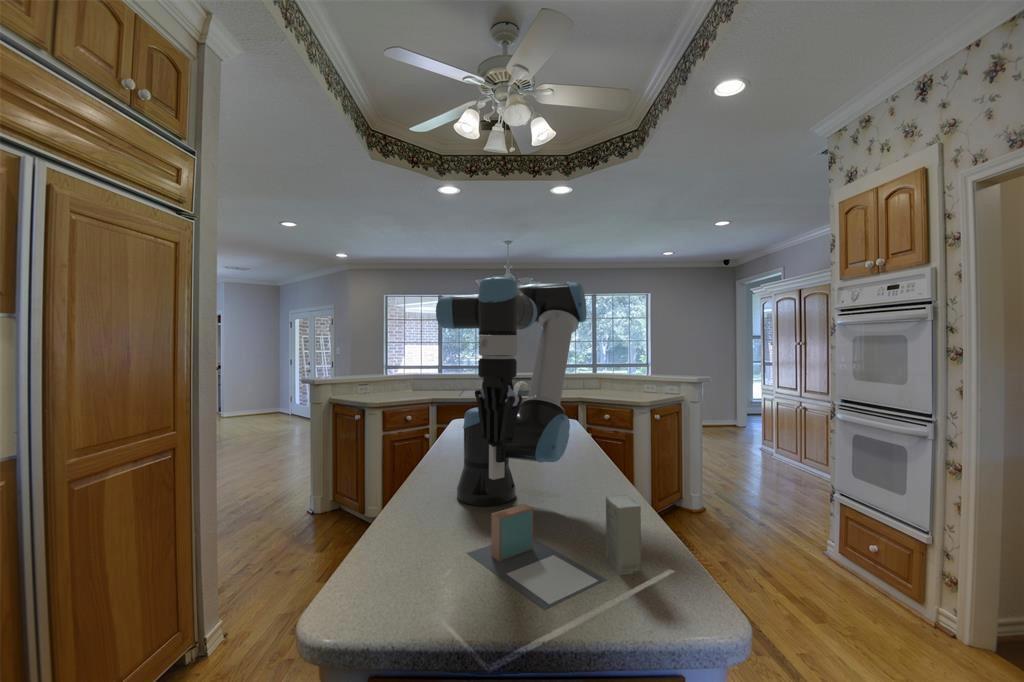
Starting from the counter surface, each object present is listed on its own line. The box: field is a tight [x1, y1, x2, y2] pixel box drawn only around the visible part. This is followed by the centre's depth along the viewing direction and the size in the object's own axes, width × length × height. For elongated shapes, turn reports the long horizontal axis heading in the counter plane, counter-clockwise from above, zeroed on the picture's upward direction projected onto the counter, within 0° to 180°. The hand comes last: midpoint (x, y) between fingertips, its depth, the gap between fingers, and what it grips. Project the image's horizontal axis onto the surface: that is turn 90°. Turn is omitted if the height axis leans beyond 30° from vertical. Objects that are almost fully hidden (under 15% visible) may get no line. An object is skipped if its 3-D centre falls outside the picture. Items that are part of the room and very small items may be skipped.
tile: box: [490, 503, 534, 561], centre depth 85 cm, size 3×8×8 cm, turn 127°
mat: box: [466, 538, 608, 611], centre depth 81 cm, size 22×14×1 cm, turn 37°
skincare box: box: [605, 494, 643, 576], centre depth 81 cm, size 6×4×12 cm
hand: (496, 477), depth 89 cm, fingers closed
